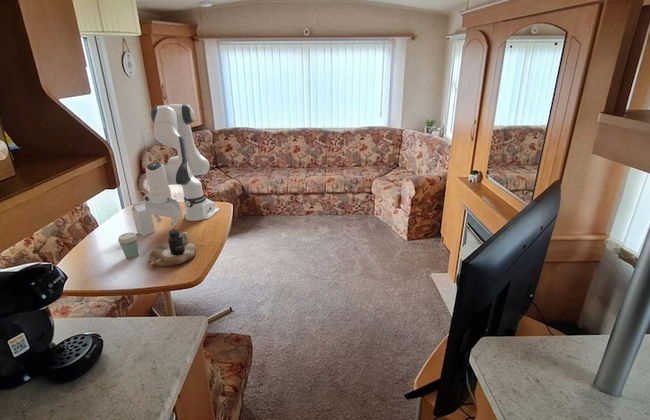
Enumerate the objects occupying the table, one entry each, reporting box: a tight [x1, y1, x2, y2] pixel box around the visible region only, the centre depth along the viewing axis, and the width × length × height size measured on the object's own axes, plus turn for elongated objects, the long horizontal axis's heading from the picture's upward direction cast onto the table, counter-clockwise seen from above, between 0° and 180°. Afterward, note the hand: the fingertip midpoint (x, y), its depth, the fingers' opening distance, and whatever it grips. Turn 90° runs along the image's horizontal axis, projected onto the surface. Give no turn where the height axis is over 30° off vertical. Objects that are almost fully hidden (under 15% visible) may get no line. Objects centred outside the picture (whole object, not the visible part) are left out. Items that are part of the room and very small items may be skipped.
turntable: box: [148, 231, 197, 267], centre depth 182 cm, size 22×22×8 cm
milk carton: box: [131, 199, 156, 237], centre depth 207 cm, size 7×7×19 cm
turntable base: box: [149, 261, 187, 271], centre depth 182 cm, size 22×18×4 cm
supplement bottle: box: [167, 228, 185, 255], centre depth 180 cm, size 7×7×12 cm
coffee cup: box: [117, 232, 140, 260], centre depth 183 cm, size 8×8×12 cm
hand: (166, 223), depth 177 cm, fingers open, 8 cm apart
